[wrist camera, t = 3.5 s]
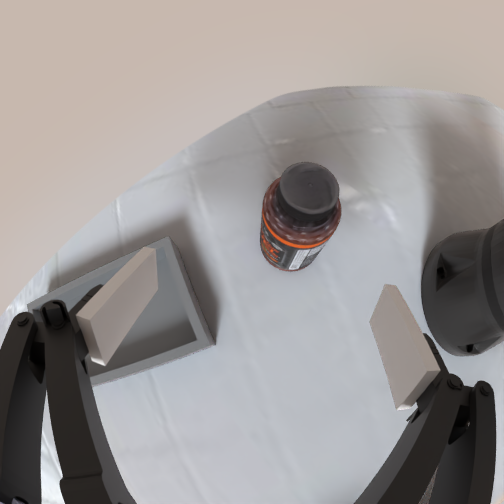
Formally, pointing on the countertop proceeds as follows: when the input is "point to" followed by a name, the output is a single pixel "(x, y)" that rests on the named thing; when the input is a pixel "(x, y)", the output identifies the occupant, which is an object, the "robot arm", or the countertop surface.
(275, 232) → the supplement bottle
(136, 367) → the trough
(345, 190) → the countertop surface
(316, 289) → the countertop surface
